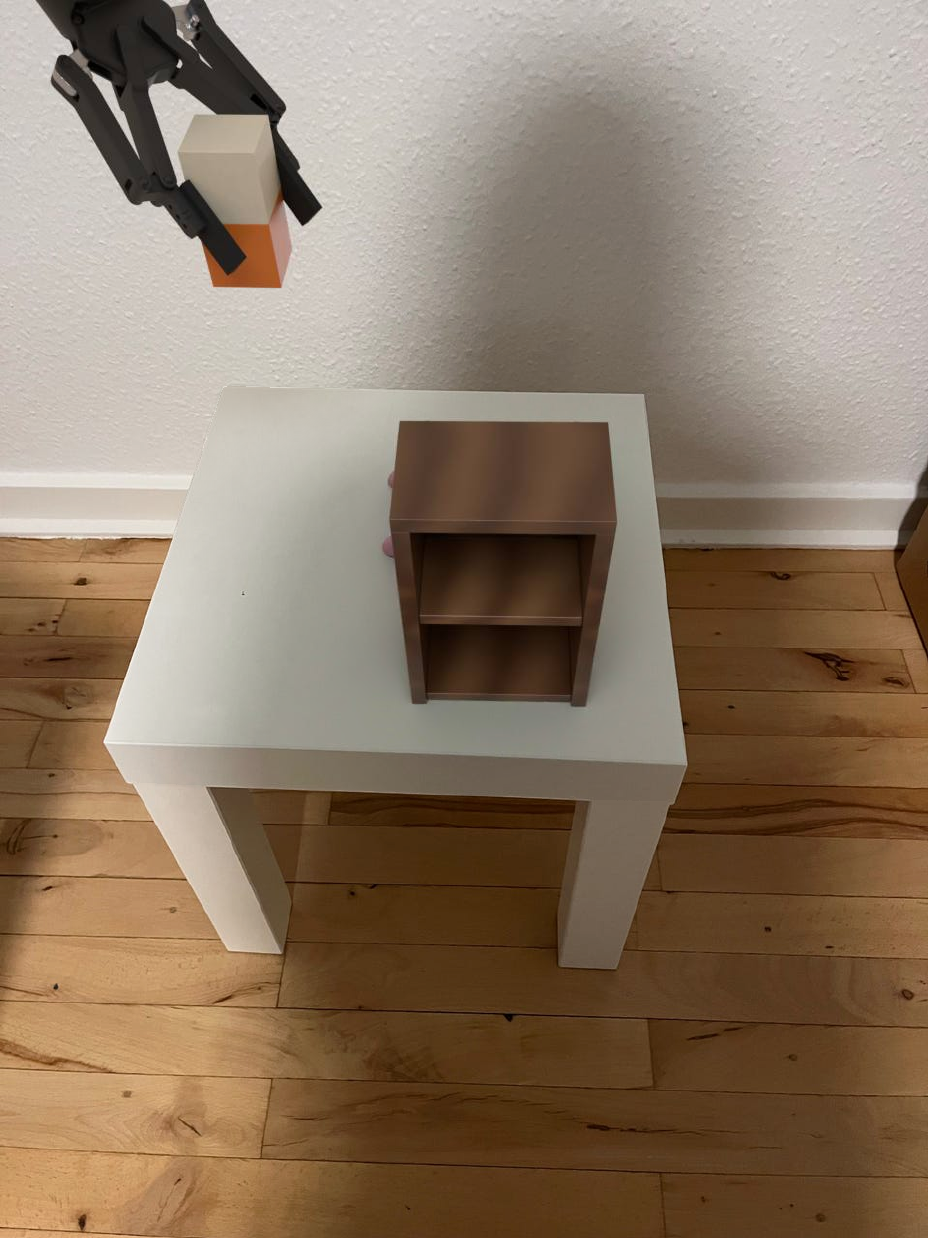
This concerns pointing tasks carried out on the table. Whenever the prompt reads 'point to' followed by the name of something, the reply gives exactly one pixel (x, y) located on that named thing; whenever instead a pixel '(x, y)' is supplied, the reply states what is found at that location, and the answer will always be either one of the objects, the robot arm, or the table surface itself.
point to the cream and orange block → (240, 194)
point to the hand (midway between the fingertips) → (275, 240)
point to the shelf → (502, 556)
